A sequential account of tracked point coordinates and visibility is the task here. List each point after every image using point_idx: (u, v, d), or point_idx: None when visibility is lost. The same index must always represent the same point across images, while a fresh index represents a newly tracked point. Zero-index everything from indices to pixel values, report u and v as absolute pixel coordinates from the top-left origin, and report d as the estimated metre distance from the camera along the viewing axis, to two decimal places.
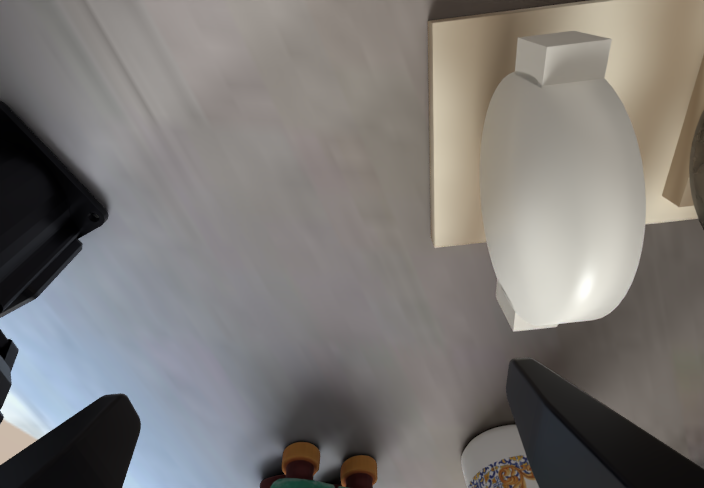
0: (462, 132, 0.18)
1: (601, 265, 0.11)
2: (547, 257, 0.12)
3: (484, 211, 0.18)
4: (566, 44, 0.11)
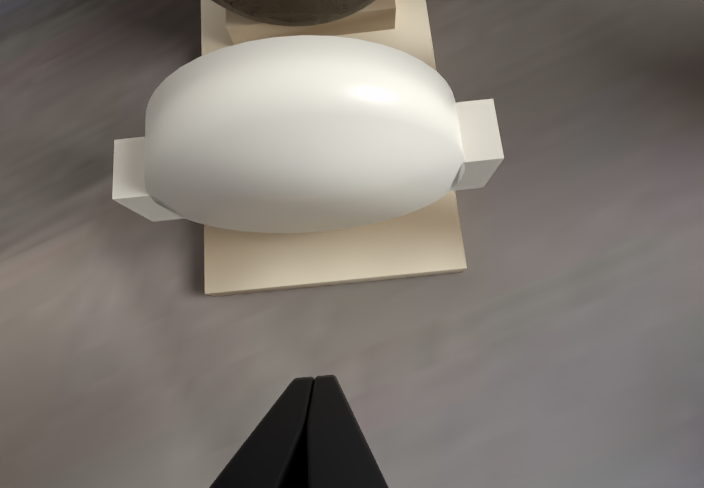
0: (314, 251, 0.17)
1: (269, 82, 0.08)
2: (315, 147, 0.09)
3: (382, 217, 0.14)
4: (114, 181, 0.11)
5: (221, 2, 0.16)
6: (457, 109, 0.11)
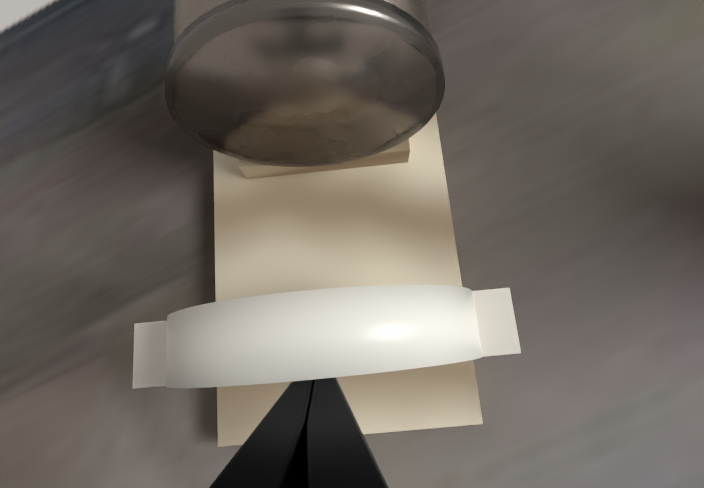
0: None
1: (295, 342, 0.08)
2: None
3: None
4: (134, 367, 0.11)
5: (235, 155, 0.16)
6: (474, 298, 0.11)
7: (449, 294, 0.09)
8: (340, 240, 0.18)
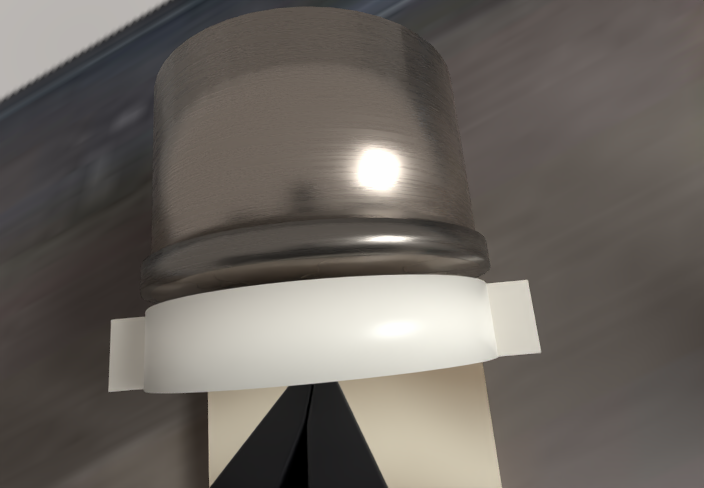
0: None
1: (286, 340, 0.07)
2: None
3: None
4: (110, 368, 0.10)
5: None
6: (488, 292, 0.10)
7: (463, 286, 0.08)
8: (353, 388, 0.15)
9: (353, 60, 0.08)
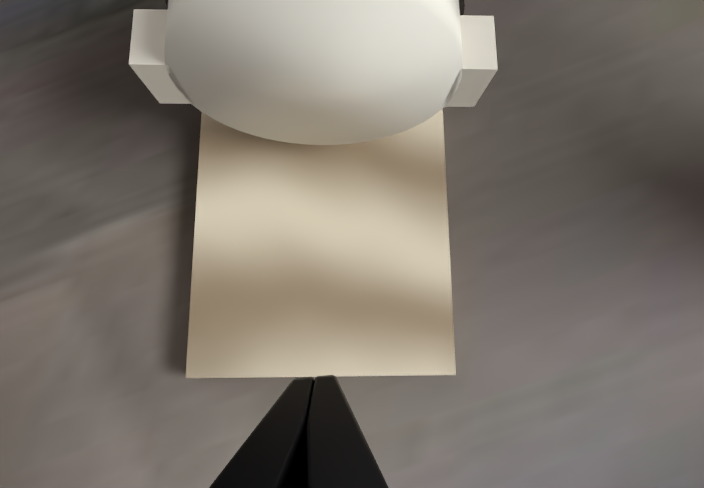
0: (304, 342, 0.16)
1: None
2: (333, 25, 0.10)
3: (375, 134, 0.15)
4: (131, 47, 0.11)
5: None
6: (460, 21, 0.12)
7: None
8: (330, 181, 0.17)
9: None
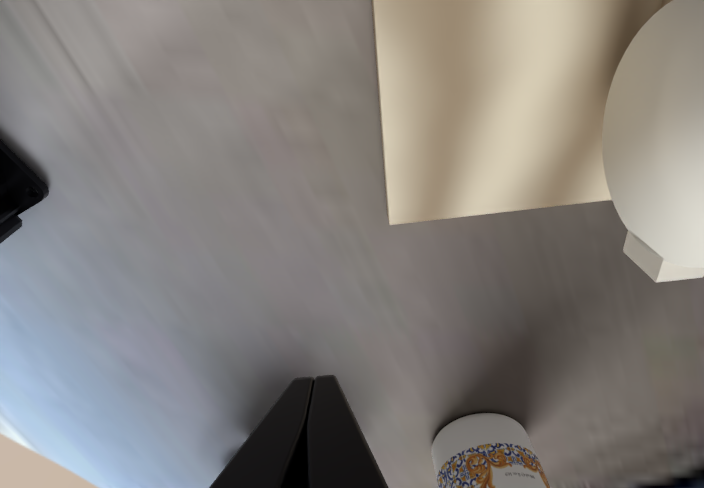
0: (411, 101, 0.18)
1: None
2: None
3: (609, 161, 0.17)
4: None
5: None
6: None
7: None
8: (562, 106, 0.18)
9: None
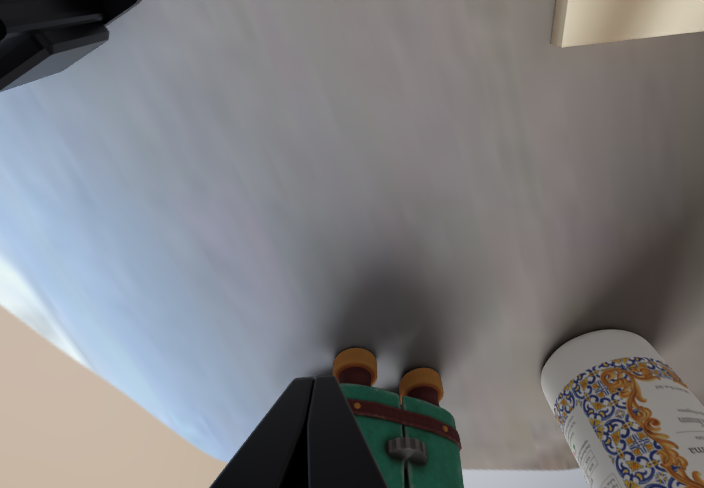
0: None
1: None
2: None
3: None
4: None
5: None
6: None
7: None
8: None
9: None
